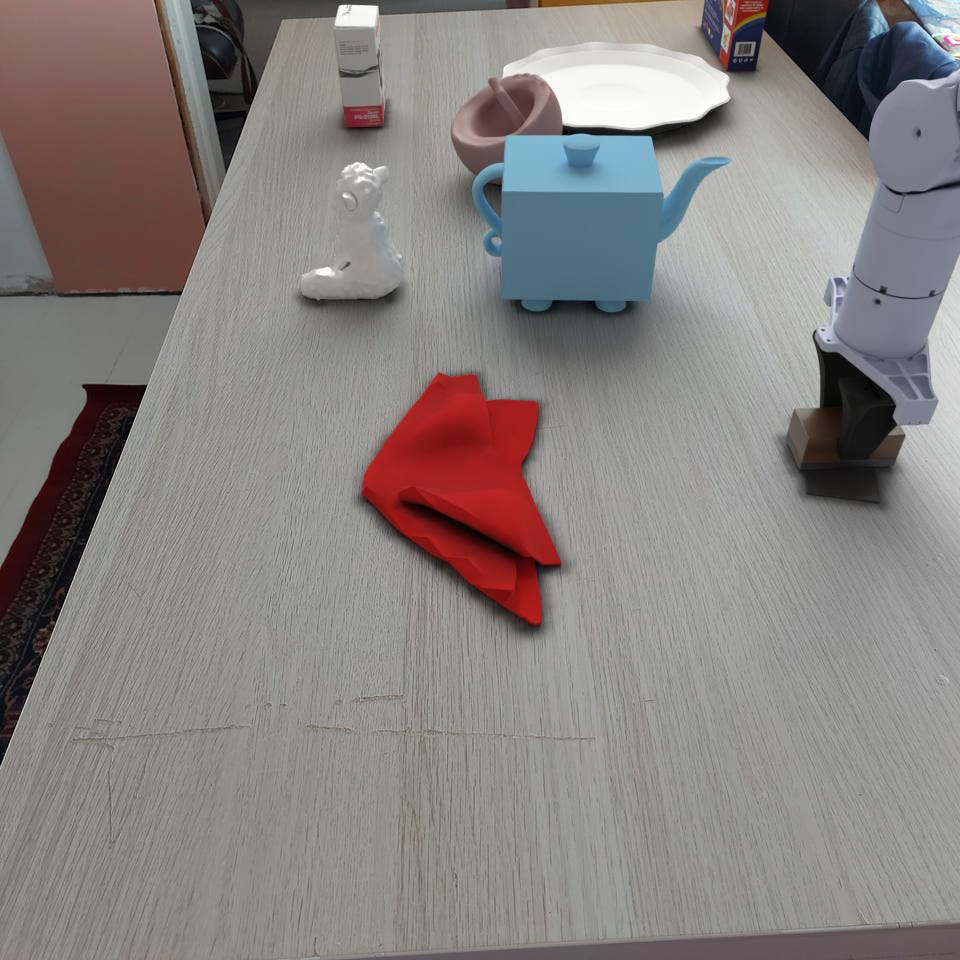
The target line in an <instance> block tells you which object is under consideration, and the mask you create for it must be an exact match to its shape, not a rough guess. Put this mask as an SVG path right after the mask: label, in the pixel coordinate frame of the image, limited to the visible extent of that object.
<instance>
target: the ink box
mask: <svg viewBox="0 0 960 960" xmlns="http://www.w3.org/2000/svg"><path fill="white" fill-rule="evenodd" d="M379 9H380V8H379V6H378V5H366V4H365V5H362V4H341V5H338V8H337V13H336V15H335V20H334V24H333V26H334V27H333V37H334V46H335V54H336V62H337V70H338V78H339V86H340V93H341V100H342V102H341V103H342V109H343V117H344V126H345V128H347V129H349V128H370V127H371V128H372V127H383V126H384V120H385V110H386V103H387V96H386V82H385V67H384V55H383V44H382V43H383V42H382V32H381V31H382V30H381V22H380V10H379Z"/></svg>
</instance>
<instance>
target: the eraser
mask: <svg viewBox="0 0 960 960" xmlns="http://www.w3.org/2000/svg"><path fill="white" fill-rule="evenodd" d="M842 418H843V407H821V408H820V407H800V408H798V407H797V408H793V411H792V415H791V419H790V422H789V425H788V429H787V432H786V436H785V441H786V443H787V446H788V448H789V450H790V452H791V455H792V457H793V459H794V462H795V464H796V466H797V468H798V470H799V471H805V470H814V469H836V468H859V467H875V468H878V467H879V468H881V467H894V466H895V464H896V461H897V459H898V456H899V455H900V452H901V449H902V446H903V444H904V441H905V439H906V436H907V435H906V433H905V431H904V430H903V427H902V426H898V425H897V426H896V427H895V428H894V429H893V430H892V431H891V432H890V433H889V434H888V436H887V437H886V438H885V439H884V440H883V441H882V443H881V444H880V445H879V446H878V448H877V449H876V450H875V451H874V453H873V454H872V455H871V456H870V458H869V459H868V460H850V461H842V460H841V459H840V457H839V455H838V440H839V435H840V430H841V425H842Z"/></svg>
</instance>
